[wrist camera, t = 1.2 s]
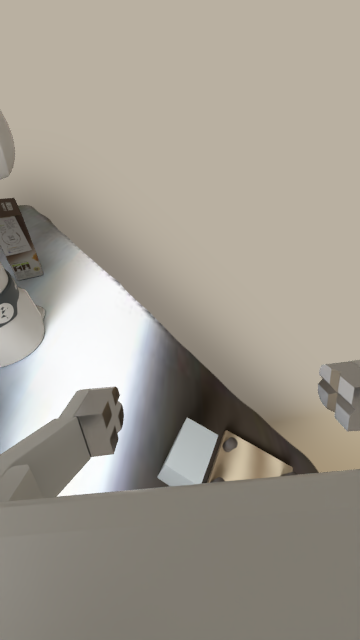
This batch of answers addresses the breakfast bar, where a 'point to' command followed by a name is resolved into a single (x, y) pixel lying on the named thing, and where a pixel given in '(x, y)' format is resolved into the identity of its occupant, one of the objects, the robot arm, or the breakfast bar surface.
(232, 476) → the birch pin plate
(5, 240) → the coffee box
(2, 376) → the breakfast bar surface
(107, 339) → the breakfast bar surface
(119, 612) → the robot arm
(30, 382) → the breakfast bar surface
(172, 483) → the block
